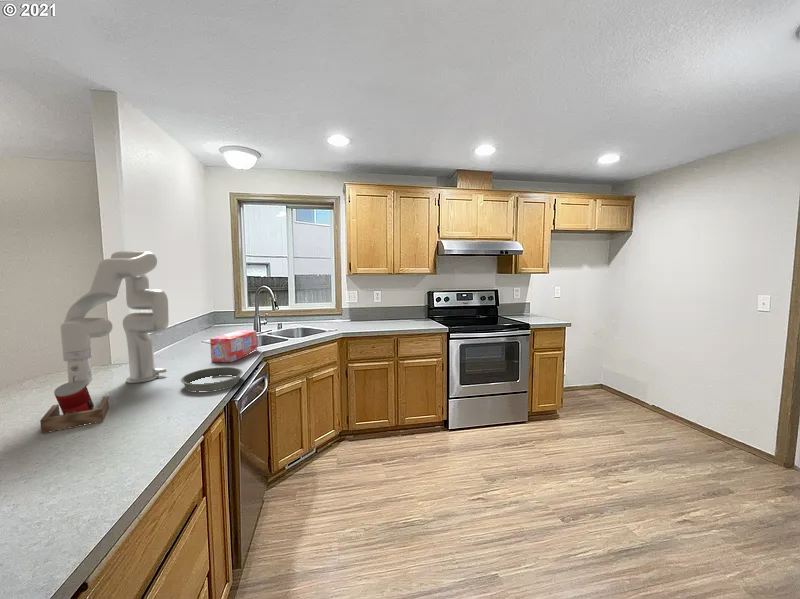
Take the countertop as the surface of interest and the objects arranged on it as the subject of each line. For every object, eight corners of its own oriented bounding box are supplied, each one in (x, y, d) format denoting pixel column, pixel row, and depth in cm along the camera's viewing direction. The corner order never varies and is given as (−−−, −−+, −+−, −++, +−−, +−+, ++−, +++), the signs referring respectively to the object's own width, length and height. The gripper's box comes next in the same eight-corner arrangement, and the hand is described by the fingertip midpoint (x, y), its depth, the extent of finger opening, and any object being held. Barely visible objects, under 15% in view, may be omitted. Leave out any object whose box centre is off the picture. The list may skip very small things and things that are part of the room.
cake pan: (236, 391, 145) (236, 381, 145) (171, 396, 139) (171, 386, 139) (247, 373, 169) (247, 364, 168) (192, 377, 163) (192, 368, 163)
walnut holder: (109, 407, 128) (108, 396, 128) (103, 421, 117) (102, 409, 116) (54, 417, 120) (52, 405, 119) (41, 433, 108) (40, 420, 108)
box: (239, 350, 214) (238, 328, 213) (258, 351, 213) (257, 329, 211) (210, 362, 188) (208, 338, 186) (231, 363, 186) (230, 338, 185)
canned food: (97, 410, 123) (88, 386, 118) (68, 423, 117) (57, 398, 112) (89, 401, 127) (80, 377, 122) (61, 413, 120) (50, 388, 116)
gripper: (86, 357, 119) (91, 407, 121) (95, 349, 132) (98, 395, 133) (57, 360, 115) (62, 412, 117) (68, 352, 128) (72, 399, 129)
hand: (81, 403), depth 125 cm, fingers closed
